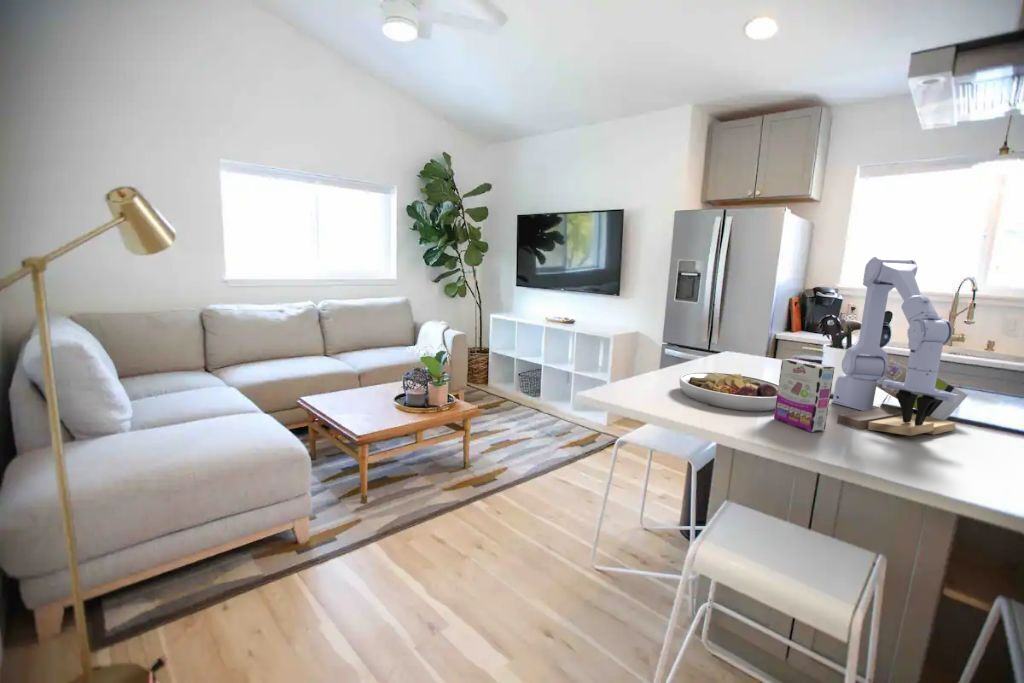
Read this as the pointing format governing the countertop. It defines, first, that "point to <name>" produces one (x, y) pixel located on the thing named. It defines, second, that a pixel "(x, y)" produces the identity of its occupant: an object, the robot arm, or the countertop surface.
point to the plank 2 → (936, 424)
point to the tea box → (938, 411)
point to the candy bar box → (804, 394)
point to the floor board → (868, 416)
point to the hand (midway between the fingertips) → (912, 423)
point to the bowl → (730, 390)
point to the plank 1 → (900, 426)
